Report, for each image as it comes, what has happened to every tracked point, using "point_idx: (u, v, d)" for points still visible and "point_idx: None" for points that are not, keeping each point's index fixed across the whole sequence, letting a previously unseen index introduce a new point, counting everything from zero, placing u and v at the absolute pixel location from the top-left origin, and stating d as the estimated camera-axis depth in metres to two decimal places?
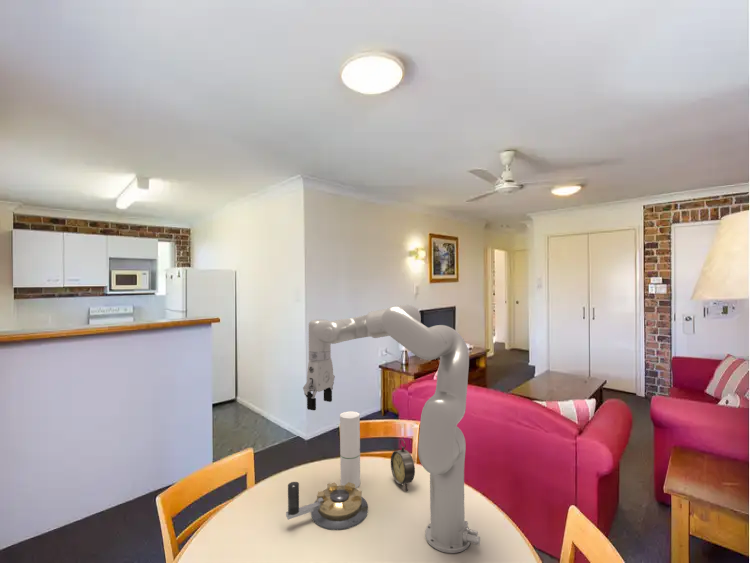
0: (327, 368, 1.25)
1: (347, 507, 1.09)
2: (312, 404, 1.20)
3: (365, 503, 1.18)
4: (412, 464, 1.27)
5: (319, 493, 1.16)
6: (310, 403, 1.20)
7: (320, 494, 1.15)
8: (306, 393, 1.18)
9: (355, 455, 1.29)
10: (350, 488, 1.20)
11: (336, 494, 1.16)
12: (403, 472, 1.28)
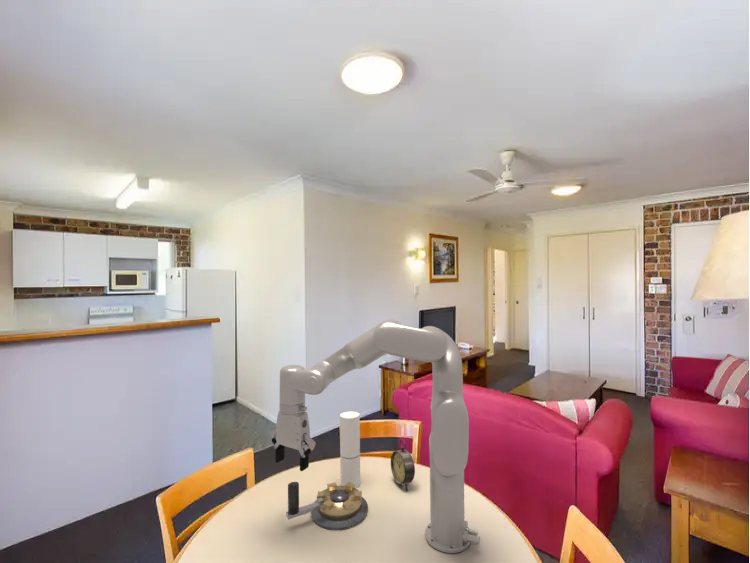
0: None
1: (347, 507, 1.09)
2: None
3: (365, 503, 1.18)
4: (412, 464, 1.27)
5: (319, 493, 1.16)
6: (307, 461, 1.06)
7: (320, 494, 1.15)
8: (312, 450, 1.05)
9: (355, 455, 1.29)
10: (350, 488, 1.20)
11: (336, 494, 1.16)
12: (403, 472, 1.28)
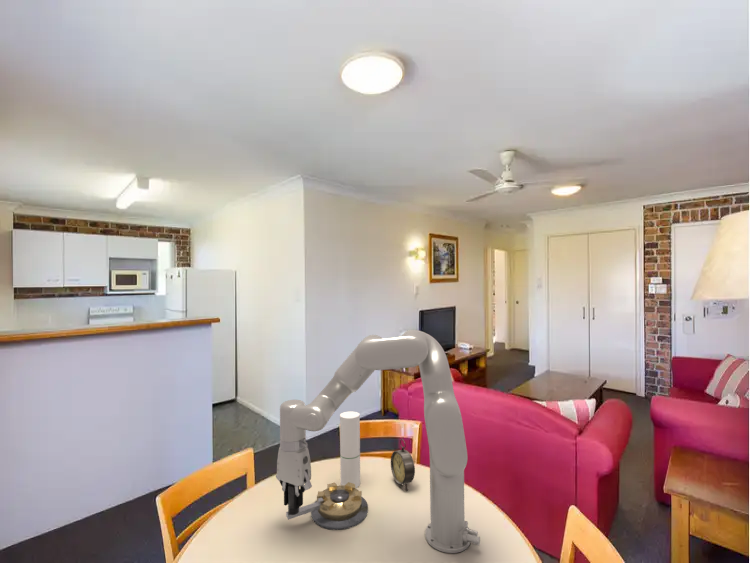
0: None
1: (347, 507, 1.09)
2: None
3: (365, 503, 1.18)
4: (412, 464, 1.27)
5: (319, 493, 1.16)
6: (301, 499, 1.07)
7: (320, 494, 1.15)
8: (305, 489, 1.06)
9: (355, 455, 1.29)
10: (350, 488, 1.20)
11: (336, 494, 1.16)
12: (403, 472, 1.28)
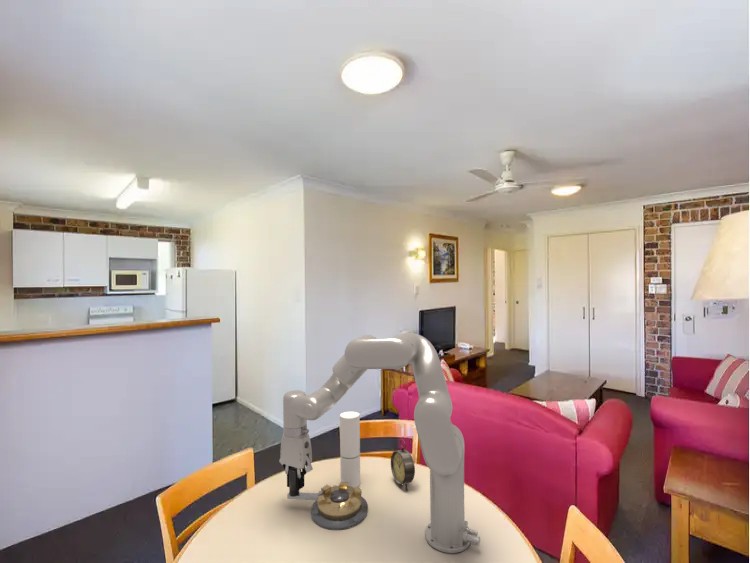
0: None
1: (332, 508, 1.09)
2: None
3: (365, 503, 1.18)
4: (412, 464, 1.27)
5: (325, 486, 1.20)
6: (303, 481, 1.17)
7: (324, 488, 1.19)
8: None
9: (355, 455, 1.29)
10: (355, 493, 1.17)
11: (337, 493, 1.16)
12: (403, 472, 1.28)
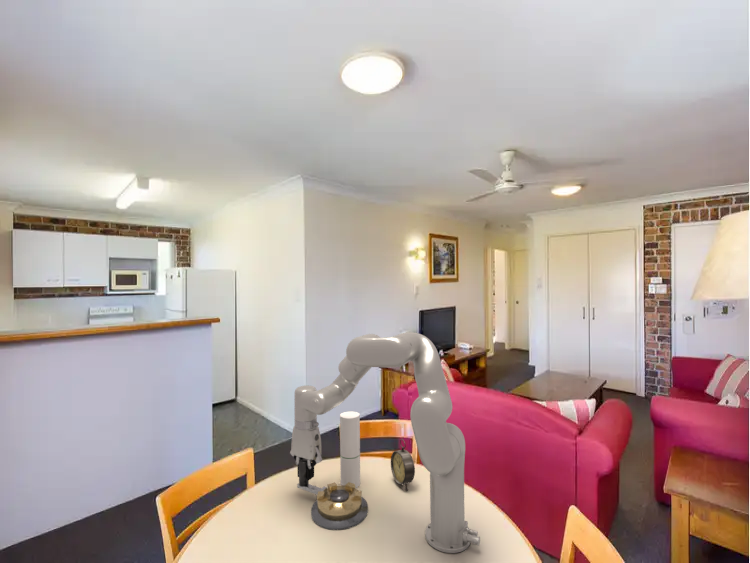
0: None
1: (324, 506, 1.10)
2: None
3: (365, 503, 1.18)
4: (412, 464, 1.27)
5: (332, 484, 1.21)
6: (313, 471, 1.23)
7: (330, 485, 1.21)
8: None
9: (355, 455, 1.29)
10: (355, 496, 1.15)
11: (338, 493, 1.17)
12: (403, 472, 1.28)
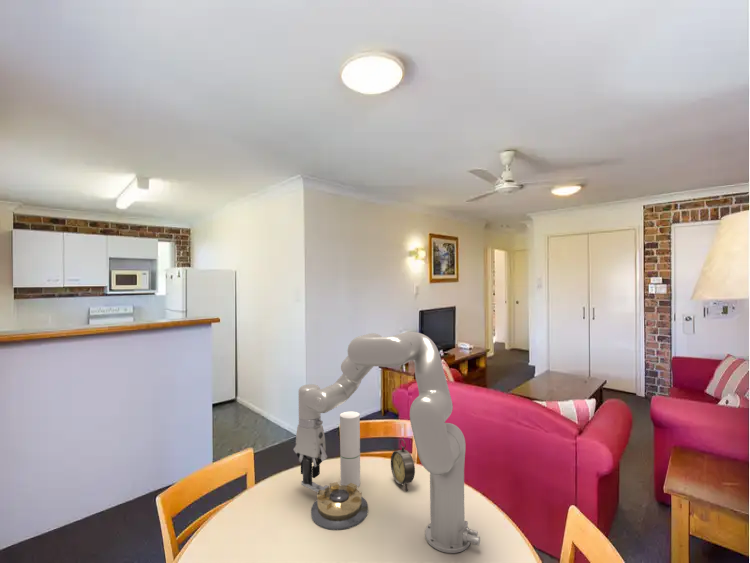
0: None
1: (322, 505, 1.11)
2: None
3: (365, 503, 1.18)
4: (412, 464, 1.27)
5: (334, 483, 1.22)
6: (318, 469, 1.24)
7: (332, 484, 1.21)
8: (322, 460, 1.23)
9: (355, 455, 1.29)
10: None
11: (338, 493, 1.17)
12: (403, 472, 1.28)
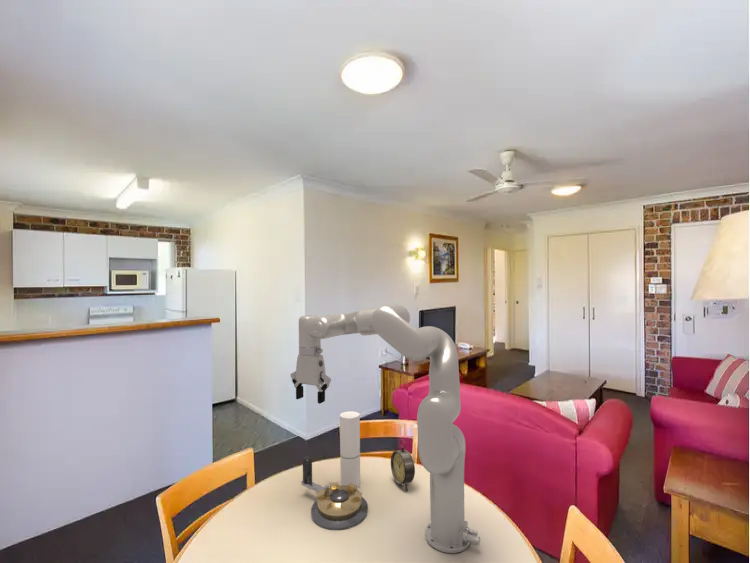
0: None
1: (322, 505, 1.11)
2: None
3: (365, 503, 1.18)
4: (412, 464, 1.27)
5: (334, 483, 1.22)
6: (324, 395, 1.23)
7: (332, 484, 1.21)
8: (328, 385, 1.22)
9: (355, 455, 1.29)
10: None
11: (338, 493, 1.17)
12: (403, 472, 1.28)
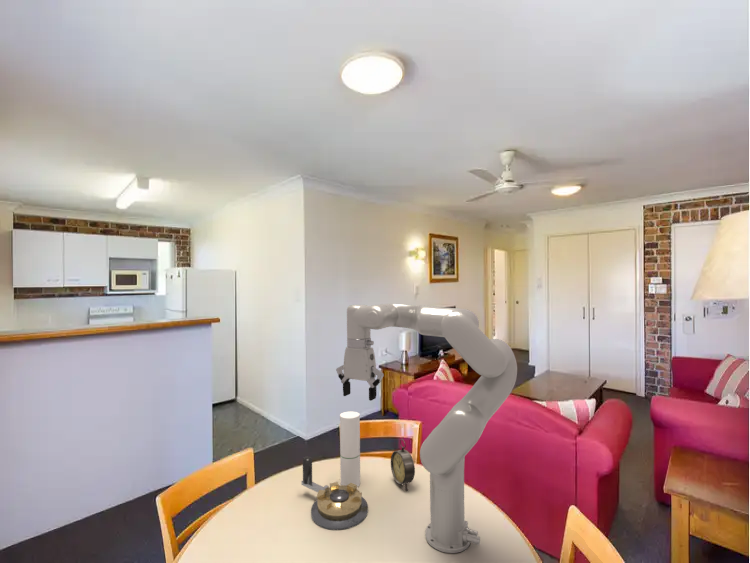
0: None
1: (322, 505, 1.11)
2: None
3: (365, 503, 1.18)
4: (412, 464, 1.27)
5: (334, 483, 1.22)
6: (375, 391, 1.13)
7: (332, 484, 1.21)
8: (380, 380, 1.12)
9: (355, 455, 1.29)
10: None
11: (338, 493, 1.17)
12: (403, 472, 1.28)
